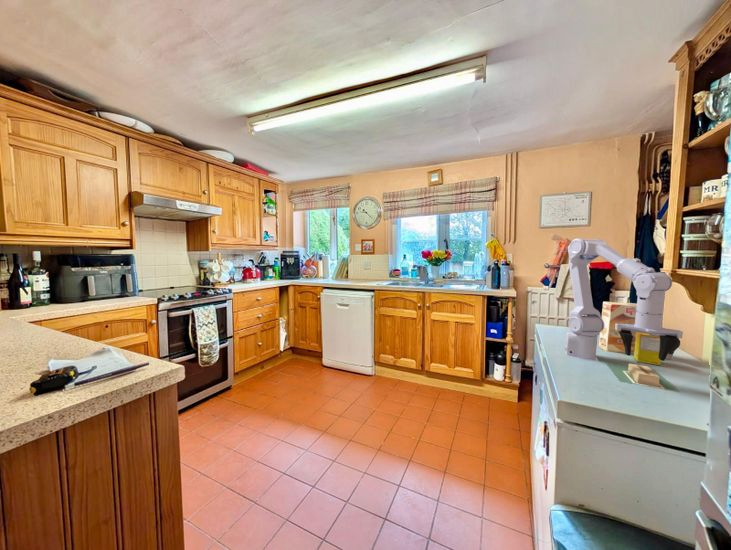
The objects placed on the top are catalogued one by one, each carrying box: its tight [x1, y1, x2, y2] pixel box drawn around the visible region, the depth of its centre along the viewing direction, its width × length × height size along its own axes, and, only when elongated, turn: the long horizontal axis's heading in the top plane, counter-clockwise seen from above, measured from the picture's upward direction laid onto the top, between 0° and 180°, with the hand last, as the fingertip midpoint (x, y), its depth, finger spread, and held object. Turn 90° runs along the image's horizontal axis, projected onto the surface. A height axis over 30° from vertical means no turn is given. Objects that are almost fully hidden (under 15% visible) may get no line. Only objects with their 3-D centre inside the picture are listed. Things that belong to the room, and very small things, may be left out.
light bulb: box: [665, 338, 681, 361], centre depth 106 cm, size 6×6×10 cm
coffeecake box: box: [598, 301, 646, 356], centre depth 114 cm, size 15×7×20 cm, turn 73°
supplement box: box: [633, 332, 662, 367], centre depth 103 cm, size 6×6×11 cm
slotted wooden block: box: [628, 363, 660, 387], centre depth 88 cm, size 9×4×3 cm, turn 152°
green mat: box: [604, 361, 681, 393], centre depth 91 cm, size 13×18×1 cm
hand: (644, 357), depth 87 cm, fingers open, 7 cm apart
